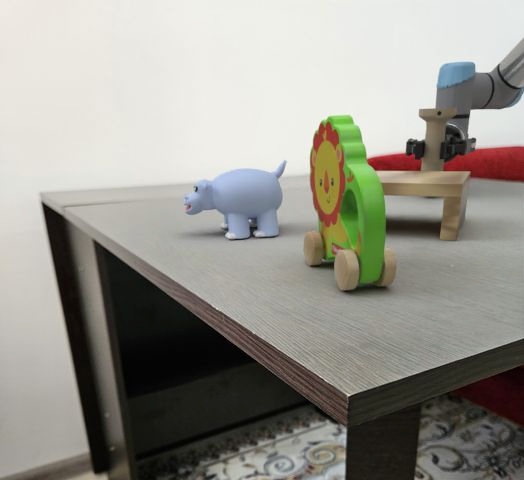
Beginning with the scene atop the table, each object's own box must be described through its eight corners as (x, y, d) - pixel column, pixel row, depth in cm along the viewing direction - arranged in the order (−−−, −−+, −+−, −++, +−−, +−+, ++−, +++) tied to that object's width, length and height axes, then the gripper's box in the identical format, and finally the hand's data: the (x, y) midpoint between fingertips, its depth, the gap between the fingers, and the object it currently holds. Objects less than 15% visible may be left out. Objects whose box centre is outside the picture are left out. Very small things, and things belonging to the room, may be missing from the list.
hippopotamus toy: (185, 228, 80) (179, 162, 76) (281, 221, 82) (280, 157, 78) (187, 243, 70) (180, 169, 66) (296, 235, 72) (295, 163, 68)
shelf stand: (464, 220, 78) (470, 171, 75) (456, 240, 67) (462, 183, 64) (359, 216, 84) (361, 170, 81) (334, 234, 73) (335, 181, 70)
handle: (449, 196, 97) (459, 107, 90) (413, 197, 98) (420, 108, 91) (445, 193, 101) (454, 107, 95) (410, 193, 102) (417, 109, 96)
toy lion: (398, 291, 49) (412, 113, 43) (344, 297, 48) (349, 115, 42) (338, 252, 63) (342, 114, 57) (295, 256, 62) (294, 116, 56)
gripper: (484, 161, 109) (477, 173, 90) (403, 162, 115) (381, 173, 96) (489, 122, 106) (483, 126, 87) (406, 125, 112) (383, 129, 93)
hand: (429, 151), depth 91 cm, fingers closed on handle, 3 cm apart
